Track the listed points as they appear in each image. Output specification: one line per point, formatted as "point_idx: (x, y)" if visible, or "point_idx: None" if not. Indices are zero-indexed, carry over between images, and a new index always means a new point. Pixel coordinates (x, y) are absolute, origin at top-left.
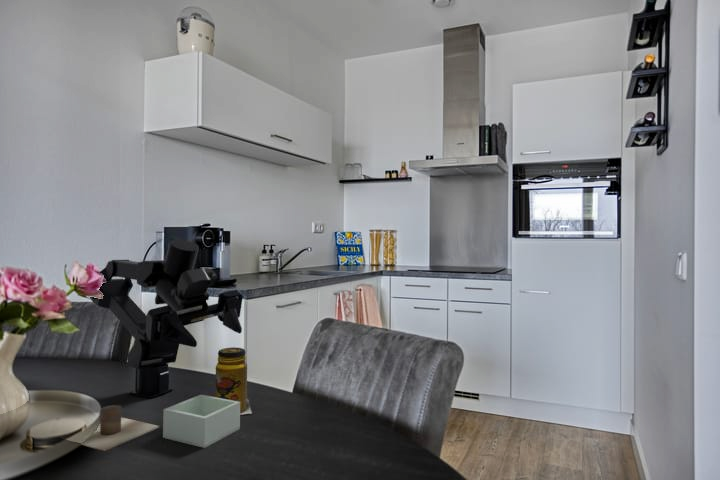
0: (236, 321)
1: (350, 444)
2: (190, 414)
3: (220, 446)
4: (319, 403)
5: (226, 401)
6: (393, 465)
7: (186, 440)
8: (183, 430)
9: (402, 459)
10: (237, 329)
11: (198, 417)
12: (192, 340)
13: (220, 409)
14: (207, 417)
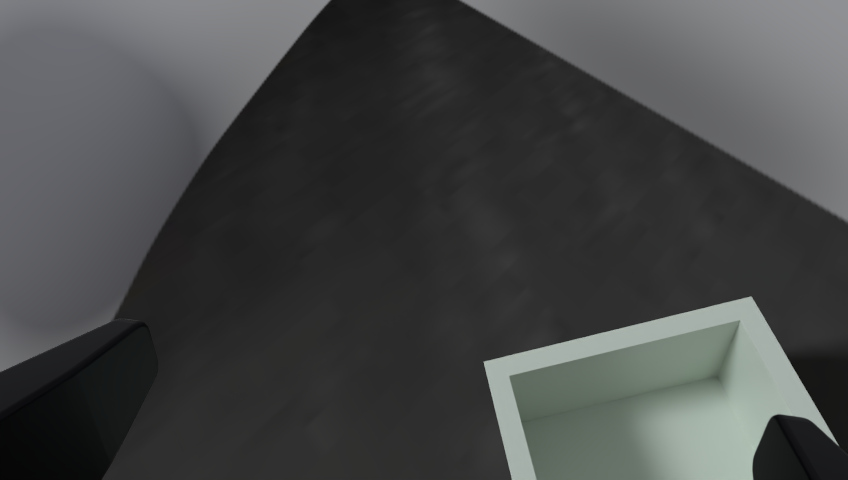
0: (15, 391)
1: (374, 106)
2: (796, 393)
3: None
4: None
5: (522, 430)
6: (414, 8)
7: None
8: None
9: (378, 13)
10: (122, 385)
11: (772, 333)
12: (840, 452)
13: (625, 344)
14: (733, 302)
